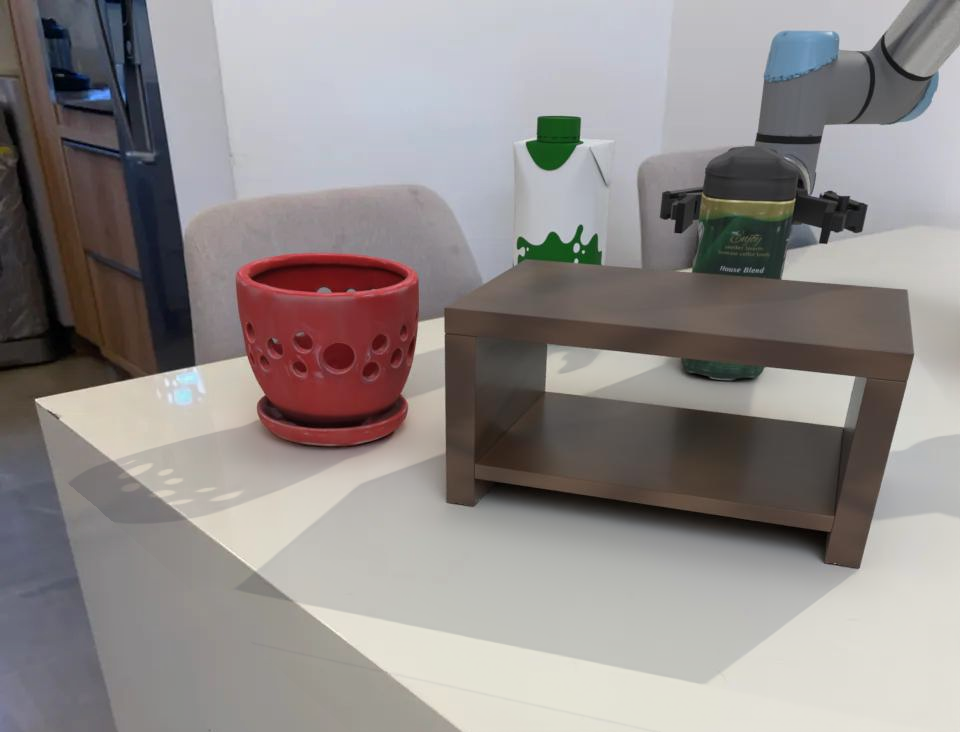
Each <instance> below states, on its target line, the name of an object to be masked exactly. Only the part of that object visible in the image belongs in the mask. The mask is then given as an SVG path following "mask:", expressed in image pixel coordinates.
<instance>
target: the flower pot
mask: <svg viewBox="0 0 960 732" xmlns="http://www.w3.org/2000/svg"><path fill="white" fill-rule="evenodd" d="M419 282H420V281H419V275H418V273H417V272H416V271H415V270H414V269H413V268H412V267H410V266H408V265H406V264H403V263H402V262H398V261H395V260H392V259H387V258H383V257H378V256H371V255H366V254H365V255H364V254H353V253H340V252H339V253H337V252H299V253H288V254H281V255H280V254H279V255H273V256H269V257H264V258H260V259H257V260H253V261H251V262H248V263H246V264H244V265H243V266H241V267H240V268H239V269H238V270H237V272H236V274H235V291H236V293H235V294H236V303H237V310H238V317H239V321H240V325H241V330H242V335H243V341H244V349H245V352H246V357H247V360H248V363H249V365H250V368H251V370H252V373H253V375H254V378H255V380H256V382H257V384H258V385H259V387H260V389H261V390H262V392H263V393H264V395H263V396H262V397H261V398H260V399H259V400H258V401H257V403H256V413H257V416H258V418H259V420H260V421H261V423H262V425H263V426H264V427H265V428H266V429H267V430H269V431H270V432H271V433H272V434H273V435H276V436H277V437H279V438H282V439H284V440H287V441H289V442H293V443H297V444H302V445H310V446H317V447H318V446H319V447H347V446H355V445H356V446H357V445H361V444H364V443H369V442H373V441H376V440H378V439H381V438H384V437H386V436H388V435H390V434H391V433H393V432H394V431H396V430H397V429H398V428H399V427H400V426H401V425H402V424H403V423H404V421H405V420H406V418H407V415H408V412H409V404H408V401H407V399H406V398H405V397H404V396H403V395H402V392H403V390H404V388H405V386H406V384H407V382H408V378H409V376H410V373H411V370H412V366H413V363H414V357H415V352H416V346H417V339H418V330H419V317H420V315H419V314H420V284H419ZM322 288H323V289H324V288H326V289H328V290H329V291H330V292H321V291H320V292H319V290H320V289H322ZM349 290H353V291H349ZM300 333H301V334H300ZM299 334H300V335H299ZM274 340H277V341H276V342H275V341H274Z"/></svg>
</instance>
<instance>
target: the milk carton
mask: <svg viewBox="0 0 960 732" xmlns="http://www.w3.org/2000/svg"><path fill="white" fill-rule="evenodd" d="M536 119H537V120H536V121H537V123H536V137H535V136H534V137H530V138H528V139H522V140H518V141H515V142H512V144H513V147H512V148H513V172H514V173H513V175H514V176H513V177H514V178H513V179H514V196H513V197H514V199H513V236H512V237H513V238H512V240H513V242H512V267H514V266H515V265H517V264H519V263H520V262H522V261H524V260H525V259H529V260H542V261H555V262H567V263H580V264H592V265H605V266H606V255H607V254H606V252H607V239H608V226H609V213H610V200H611V199H610V197H611V196H610V195H611V184H612V175H613V165H614V157H615V147H616V140H613V139H612V140H611V139H592V138H582V137H581V131H582V130H581V127H582V117H580V116H572V115H540V116H537V118H536Z"/></svg>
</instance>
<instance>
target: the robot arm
mask: <svg viewBox="0 0 960 732" xmlns="http://www.w3.org/2000/svg"><path fill="white" fill-rule="evenodd" d="M959 46H960V0H909V1H907V3H906V5H905V6H904V8H902V10H901V11H900V12H899V14H898V15H897V16H896V17H895V19H894V20H893V21H892V23H890V25H889V27H888V28H887V29H886V31H885V32H883V34H882V35H881V36H880V38H879V39H878V40H877V42H876V43H875V44H874V46H873V47H872V48H871V49H870V50H849V49H848V50H846V49H840V35H839V33H838V32H837V31H834V30H782V31H779V32H778V33H776V34H775V35H774V37H773V38H772V40H771V43H770V47H769V52H768V55H767V60H766V64H765V69H764V72H763V84H762V93H761V101H760V111H759V119H758V120H759V121H758V124H757V125H758V127H757V132H756V135H755V140H754V145H753V146H758V147H765V148H770V149H774V150H776V151H777V153H778V154H779V155H781V156H782V157H784V158H786V159H787V160H789V161H791V162H792V163H794V164H795V165H796V166H797V167H798V170H799V174H798V183H797V191H796V196H795V204H794V210H793V216H792V223H791V226H801V225H802V224H804V225H807V226H812V227H815V228H819V229H820V236H819V240H818V244H821V245H828V243H829V239H830V235H831V234H832V233H831V232H833V233H836V234H839V233H841V232H844V230H846V231H849V232H852V233H853V234H860V233H862V232H863V230H864V225H865V221H866V216H867V211H868V207H869V204H866V203H865V202H861V201H857V200H856V199H855V200H854V199H852V198H851V195H839V194H838V193H837V192H835V191H833V190H827V191H823V192H820V193H819V196H818V197H817V196H812V195H813V193H814V189H815V184H816V179H817V172H816V170H817V165H818V160H819V154H820V149H821V143H822V139H823V135H824V131H825V127H826V126H832V125H836V126H837V125H839V126H840V125H879V126H885V125H886V126H887V125H888V126H889V125H895V124H898V123H907V122H912V121H913V120H915V119H917V118H918V117H920V116H922V114H924V113H925V112H926V111H927V110H928V108H929V107H930V106H931V104H932V102H933V98H934V95H935V93H936V92H937V91H938V87H939V81H940V80H939V79H940V75H939V74H940V73H939V70H940V68H941V67H942V66H943V65H944V64H945V63H946V61H948V59H949V58H950V57H951V56H952V55H953V54H954V52H955V51H956V50H957V49H958V48H959ZM702 192H703V186H697V187H689V188H681V189H676V190H666V191H662V193H661V201H660V212H659V219H661V220H664V221H667V220H669V219H670V220H671V221H674V231H673V233H674V234H680V235H681V234H682V235H683V233H684V232H685V231H686V230H687V229H689V228H690V227H691V226H692V225H693V224H694V221H699V214H700V206H701V199H702Z"/></svg>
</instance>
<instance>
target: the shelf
mask: <svg viewBox="0 0 960 732" xmlns="http://www.w3.org/2000/svg"><path fill="white" fill-rule="evenodd" d="M443 320H444V321H443V322H444V324H443V325H444V328H443V329H444V330H443V331H444V409H445V410H444V411H445V412H444V414H445V422H444V423H445V489H446V490H445V501H446V503H449V502H450V503H449V504H455V503H458V504H457V505H461V504H466V505H465V506H467V505H471V506H470V507H475V506H476V505H477V504H478V503H479V501H480V500H481V499H482V498H483V497H484V496H485V495H486V493H488V491H489V490H491V488H492V487H493V486H494V485H495V483H503V484H508V485H509V484H510V485H516V486H521V487H522V486H523V487H528V488H529V487H530V488H536V489H543V490H550V491H555V492H562V493H569V494H574V495H575V494H576V495H582V496H587V497H588V496H589V497H595V498H602V499H609V500H616V501H622V502H628V503H636V504H641V505H648V506H653V507H662V508H668V509H674V510H680V511H689V512H696V513H701V514H706V515H707V514H708V515H716V516H722V517H728V518H734V519H741V520H746V521H747V520H749V521H755V522H761V523H768V524H774V525H780V526H787V527H794V528H801V529H807V530H813V531H821V532H827V533H826V542H825V550H824V560H823V561H825V562H828V563H836V564H840V565H839V566H841V565H844V566H843V567H848V568H853V567H856V568H855V569H860V568H861V565H862V561H863V558H864V553H865V550H866V545H867V542H868V537H869V533H870V530H871V526H872V522H873V518H874V514H875V510H876V507H877V502H878V498H879V496H880V495H879V494H880V490H881V487H882V483H883V479H884V475H885V472H886V467H887V463H888V458H889V455H890V451H891V447H892V443H893V440H894V437H895V432H896V428H897V424H898V420H899V417H900V413H901V408H902V404H903V400H904V397H905V393H906V390H907V385H908V380H909V377H910V373H911V369H912V365H913V362H914V358H915V349H914V348H915V347H914V339H913V329H912V328H913V327H912V318H911V310H910V300H909V290H908V289H904V288H893V287H892V288H891V287H879V286H867V285H856V284H855V285H854V284H843V283H829V282H817V281H804V280H791V279H790V280H789V279H782V280H780V279H768V278H755V277H743V276H730V275H718V274H705V273H692V271H681V270H680V271H679V270H665V269H655V268H654V269H653V268H642V267H641V268H640V267H627V266H615V265H606V264H605V265H592V264H580V263H567V262H555V261H542V260H529V259H525V260H524V261H522V262H520V263H519V264H517V265H515V266H514V267H513V266H511V268H508V269H507V270H505V271H504V272H502V273H500V274H499V275H497V276H495V277H493V278H492V279H490V280H489V281H486V282H485V283H483V284H482V285H480V286H479V287H477V288H475V289H473V290H472V291H470V292H469V293H467V294H465V295H463V296H462V297H460V298H458V299H456V300H455V301H453V302H451V303H450V304H448V305H447V306H445V307H444V308H443ZM548 345H553V346H554V345H555V346H562V347H571V348H582V349H590V350H591V349H592V350H599V351H600V350H601V351H608V352H609V351H611V352H619V353H620V352H621V353H629V354H639V355H648V356H659V357H667V358H668V357H669V358H677V359H681V358H685V359H695V360H704V361H714V362H723V363H733V364H742V365H751V366H761V367H765V368H771V369H781V370H791V371H799V372H809V373H819V374H829V375H838V376H846V377H847V376H848V377H854V379H853V384H852V389H851V393H850V398H849V402H848V407H847V410H846V415H845V420H844V424H843V426H837V425H828V424H820V423H813V422H812V423H811V422H804V421H794V420H787V419H778V418H770V417H763V416H762V417H761V416H754V415H745V414H737V413H729V412H722V411H721V412H720V411H713V410H705V409H704V410H703V409H695V408H688V407H687V408H686V407H680V406H671V405H663V404H654V403H646V402H637V401H630V400H629V401H628V400H621V399H614V398H613V399H612V398H604V397H597V396H596V397H595V396H588V395H578V394H572V393H564V392H555V391H546V385H547V384H546V383H547V364H548V363H547V362H548ZM491 486H492V487H491ZM484 494H485V495H484ZM483 495H484V496H483ZM482 496H483V497H482ZM479 499H480V500H479ZM476 503H477V504H476ZM475 504H476V505H475ZM474 505H475V506H474ZM828 563H827V564H828Z"/></svg>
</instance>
